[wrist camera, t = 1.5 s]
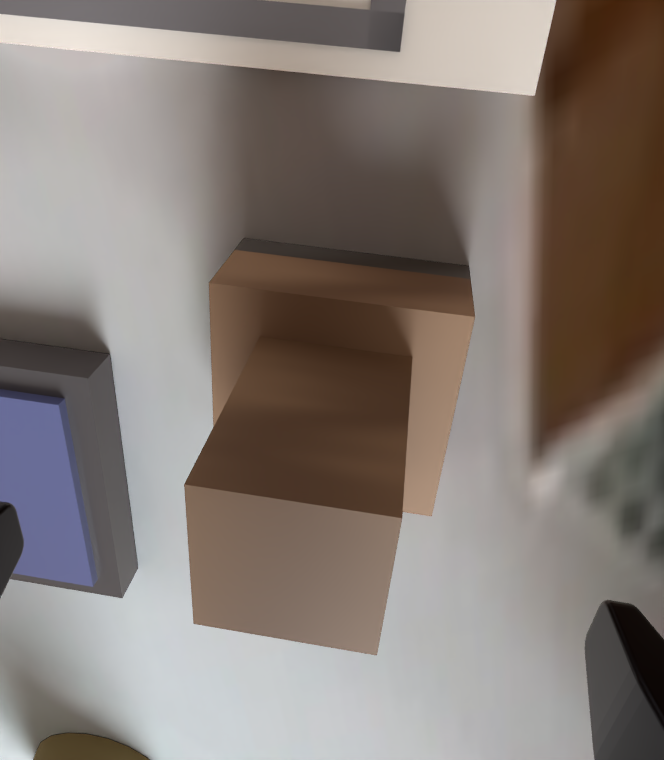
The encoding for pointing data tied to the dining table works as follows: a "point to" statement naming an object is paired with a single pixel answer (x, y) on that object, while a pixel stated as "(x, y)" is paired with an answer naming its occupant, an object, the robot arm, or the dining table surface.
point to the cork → (84, 748)
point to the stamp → (320, 435)
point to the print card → (308, 36)
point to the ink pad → (65, 468)
